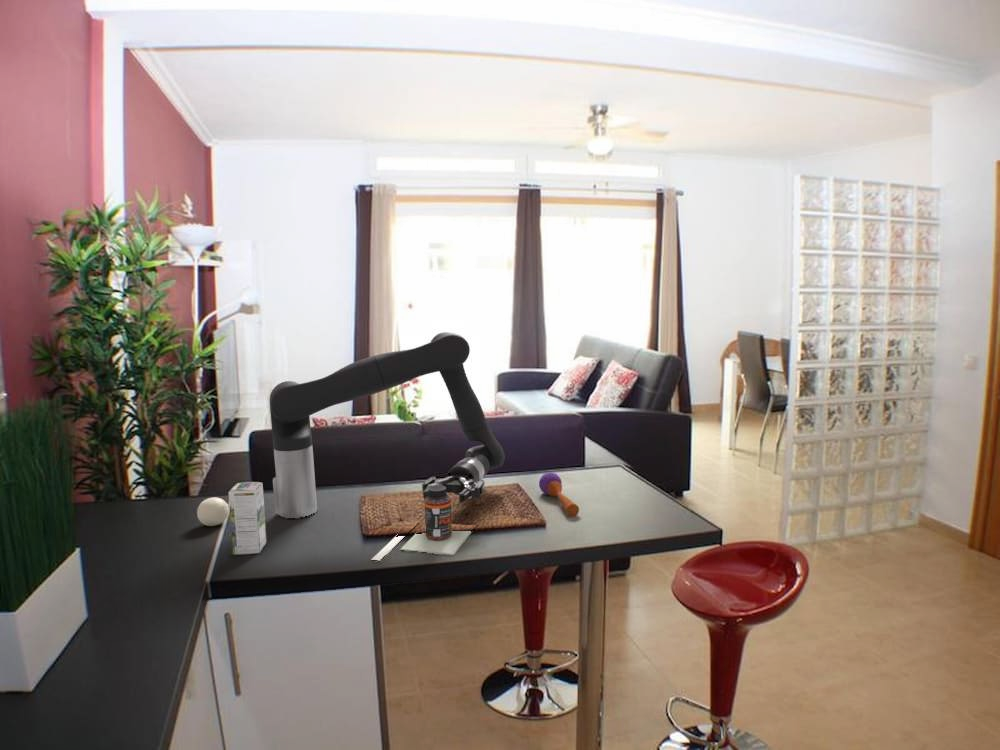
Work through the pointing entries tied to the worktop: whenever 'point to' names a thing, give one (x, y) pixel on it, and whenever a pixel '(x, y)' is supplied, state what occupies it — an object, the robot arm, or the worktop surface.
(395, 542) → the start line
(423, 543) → the mat
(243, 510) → the syrup box
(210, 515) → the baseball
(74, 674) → the worktop surface
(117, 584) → the worktop surface
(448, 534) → the supplement bottle
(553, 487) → the purple and orange maraca
